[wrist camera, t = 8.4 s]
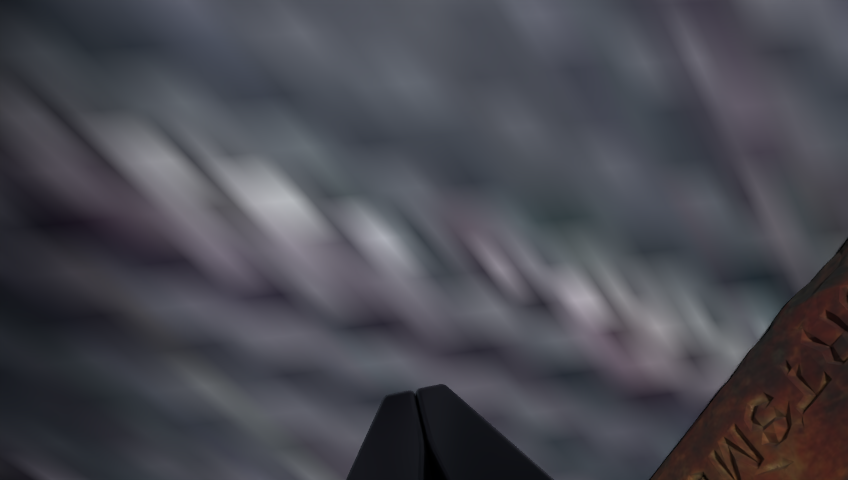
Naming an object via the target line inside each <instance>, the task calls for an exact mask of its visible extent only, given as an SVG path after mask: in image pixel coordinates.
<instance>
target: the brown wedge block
mask: <svg viewBox="0 0 848 480" xmlns="http://www.w3.org/2000/svg"><path fill="white" fill-rule="evenodd" d="M651 480H848V240H847V241H846V243H845V244H844V246H843V247H842V248H841V250H840V251H839V252H838V253H837V254H836V255H835V256H834V257H833V258H832V259H831V260H830V261H829V262H828V263H827V264H826V265H825V266H824V267H823V268H822V269H821V270H820V271H819V272H818V274H817V275H816V276H815V277H814V278H813V279H812V280H811V281H810V283H809V284H807V285H806V286H805V287H804V288H802V289H801V290H800V291H799V292H798V293H797V294H796V295H795V296H794V297H793V298H792V299H791V300H790V301H789V302H788V303H787V304H786V305H785V307H784V308H783V309H782V310H781V311H780V313H779V314H778V315H777V316H776V317H775V319H774V320H773V322H772V324H771V327H770V329H769V331H768V332H767V333H766V334H765V335H764V336H763V337H762V339H761V340H760V341H759V342H758V343H757V344H756V345H755V346H754V347H753V348H752V349H751V350H750V352H749V353H748V354H747V356H746V357H745V359H744V360H743V362H742V363H741V364H740V366H739V367H738V369H737V370H736V371H735V373H734V374H733V376H732V377H731V379H730V380H729V382H728V383H727V384H726V385H725V386H724V387H723V388H722V389H721V390H720V392H719V393H718V394H717V395H716V397H715V398H714V399H713V401H712V402H711V403H710V404H709V406H708V407H707V408H706V409H705V410H704V412H703V413H702V414H701V415H700V416H699V417H698V419H697V420H696V421H695V422H694V424H693V425H692V426H691V428H690V429H689V430H688V432H687V433H686V434H685V436H684V437H683V439H682V440H681V441H680V443H679V444H678V445H677V447H676V448H675V449H674V450H673V451H672V453H671V454H670V455H669V456H668V457H667V459H666V460H665V461H664V463H663V464H662V465H661V467H660V468H659V469H658V470H657V472H656V473H655V474H654V476H653V477H652V478H651Z"/></svg>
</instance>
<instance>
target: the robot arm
mask: <svg viewBox="0 0 848 480" xmlns="http://www.w3.org/2000/svg"><path fill="white" fill-rule="evenodd" d="M346 480H554V479H553V478H551V477H550V476H549V475H548V474H547V473H546V472H545V471H543V470H542V469H541V468H540V467H539V466H538V465H537V464H535V463H534V462H533V461H532V460H531V459H530V458H528V457H527V456H526V455H525V454H524V453H523V452H522V451H520V450H519V449H518V448H517V447H516V446H515V445H514V444H512V443H511V442H510V441H509V440H508V439H507V438H506V437H504V436H503V435H502V434H501V433H500V432H499V431H498V430H496V429H495V428H494V427H493V426H492V425H491V424H490V423H488V422H487V421H486V420H485V419H484V418H483V417H482V416H480V415H479V414H478V413H477V412H476V411H475V410H474V409H472V408H471V407H470V406H469V405H468V404H467V403H465V402H464V401H463V400H462V399H461V398H460V397H459V396H457V395H456V394H455V393H454V392H453V391H452V390H451V389H449V388H448V387H447V386H446V385H443V384H439V385H434V386H429V387H424V388H420V389H418V390H417V391H416V396H415V393H414V392H413V391H404V392H399V393H394V394H389V395H386V396H385V397H384V398H383V400H382V402H381V404H380V407H379V409H378V411H377V413H376V415H375V418H374V420H373V422H372V424H371V426H370V429H369V431H368V433H367V435H366V437H365V440H364V442H363V444H362V446H361V448H360V450H359V453H358V455H357V457H356V459H355V461H354V464H353V466H352V468H351V470H350V472H349V475H348V477H347V479H346Z"/></svg>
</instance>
